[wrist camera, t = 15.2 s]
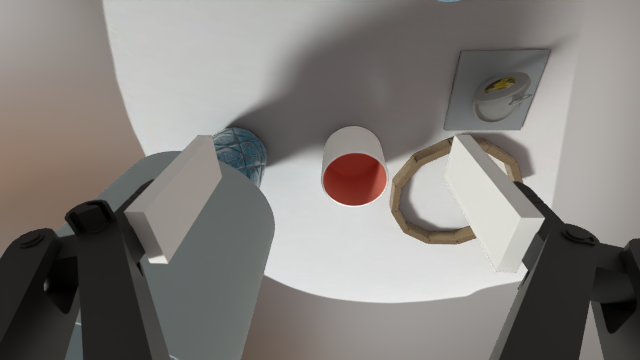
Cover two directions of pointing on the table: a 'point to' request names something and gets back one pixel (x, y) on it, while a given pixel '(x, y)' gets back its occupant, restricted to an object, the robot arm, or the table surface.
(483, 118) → the pocket watch
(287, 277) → the table surface
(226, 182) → the lamp
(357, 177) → the cup
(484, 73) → the coaster
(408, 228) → the c ring
